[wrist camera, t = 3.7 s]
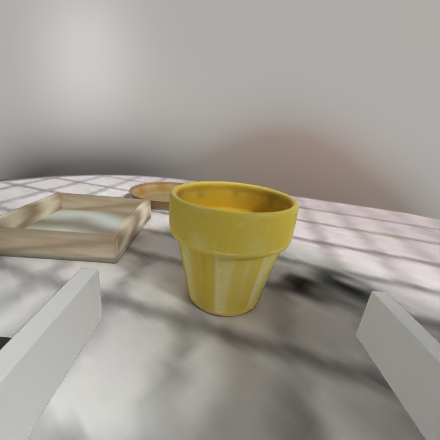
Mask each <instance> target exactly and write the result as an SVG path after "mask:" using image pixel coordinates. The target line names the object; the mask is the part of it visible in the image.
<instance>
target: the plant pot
mask: <svg viewBox="0 0 440 440" xmlns="http://www.w3.org/2000/svg"><path fill="white" fill-rule="evenodd" d="M297 214H298V203H297V201H296V200H295V199H294V198H292V197H291V196H289V195H287V194H284V193H282V192H279V191H276V190H273V189H269V188H265V187H260V186H255V185H250V184H243V183H234V182H219V181H203V182H192V183H186V184H181V185H178V186H176V187H174V188H173V189H172V190H171V191H170V198H169V221H170V231H171V234H172V235H173V237H174V238H175V239H176V240H177V241H178V242H179V247H180V252H181V257H182V262H183V266H184V272H185V277H186V282H187V287H188V292H189V295H190V298H191V300H192V301H193V302H194V303H195V304H196V305H197V306H198V307H199V308H201V309H202V310H204V311H206V312H208V313H211V314H215V315H219V316H237V315H241V314H244V313H246V312H248V311H250V310H252V309H253V308H254V307H255V305H256V304H257V302H258V300H259V297H260V295H261V293H262V290H263V288H264V286H265V284H266V281H267V279H268V277H269V275H270V272H271V270H272V268H273V266H274V263H275V261H276V259H277V257H278V254H279V252H281V251H283V250H285V249H286V248H287V247H288V246H289V244H290V242H291V239H292V236H293V232H294V228H295V224H296V219H297Z"/></svg>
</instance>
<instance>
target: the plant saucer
mask: <svg viewBox="0 0 440 440" xmlns="http://www.w3.org/2000/svg"><path fill="white" fill-rule="evenodd" d="M181 184H184V183H175V182H151V183H144V184H139V185H135V186H133V187H131V188H130V190H129V192H130V193H131V195H132V196H133V197H134V198H135V199H148V200H151V208H152V209H157V210H169V198H170V191H171V190H172V189H173V188H174V187H176V186H178V185H181Z"/></svg>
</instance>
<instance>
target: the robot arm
mask: <svg viewBox="0 0 440 440" xmlns="http://www.w3.org/2000/svg"><path fill="white" fill-rule="evenodd" d="M101 318H102V307H101V295H100V284H99V273H98V269H87V268H81V269H80V270H79V271H78V272H77V273H76V274H75V275H74V276H73V277H72V278H71V279H70V280H69V281H68V282H67V283H66V284H65V285H64V286H63V287H62V288H61V289H60V290H59V291H58V292H57V293H56V294H55V295H54V296H53V297H52V298H51V299H50V300H49V301H48V302H47V303H46V304H45V305H44V306H43V307H42V308H41V309H40V310H39V311H38V312H37V313H36V314H35V315H34V316H33V317H32V319H31V320H30V321H29V322H28V323H27V324H26V325H25V326H24V327H23V328H22V329H21V330H20V331H19V332H18V333H17V334H16V335H15V336H14V337H13V338H8V337H0V440H26V439H27V437H28V435H29V434H30V432H31V431H32V429H33V427H34V426H35V424H36V423H37V421H38V419H39V418H40V416H41V414H42V413H43V411H44V410H45V408H46V406H47V405H48V403H49V402H50V400H51V398H52V397H53V395H54V394H55V392H56V390H57V389H58V387H59V386H60V384H61V382H62V381H63V379H64V377H65V376H66V374H67V373H68V371H69V369H70V368H71V366H72V365H73V363H74V361H75V360H76V358H77V357H78V355H79V353H80V352H81V350H82V349H83V347H84V345H85V344H86V342H87V340H88V339H89V337H90V336H91V334H92V332H93V331H94V329H95V328H96V326H97V324H98V323H99V321H100V320H101ZM356 336H357V338H358V339H359V341H360V342H361V344H362V345H363V347H364V348H365V350H366V351H367V353H368V354H369V356H370V357H371V359H372V360H373V362H374V363H375V365H376V366H377V368H378V369H379V371H380V372H381V374H382V375H383V377H384V378H385V380H386V381H387V383H388V384H389V386H390V387H391V389H392V390H393V392H394V393H395V394H396V396H397V397H398V399H399V400H400V402H401V403H402V405H403V406H404V408H405V409H406V411H407V412H408V414H409V415H410V417H411V418H412V420H413V421H414V423H415V424H416V426H417V427H418V429H419V430H420V432H421V433H422V435H423V436H424V438H425V439H426V440H440V343H439V342H438V341H437V340H436V339H435V338H434V337H433V336H432V335H431V334H430V333H429V332H428V331H427V330H426V329H425V328H424V327H423V326H422V325H421V324H420V323H419V322H417V321H416V320H415V319H414V318H413V317H412V316H411V315H410V314H409V313H408V312H407V311H406V310H405V309H404V308H403V307H402V306H401V305H400V304H399V303H398V302H397V301H396V300H395V299H394V298H393V297H392V296H391V295H390V294H388V293H387V292H378V291H372V292H371V295H370V297H369V300H368V303H367V305H366V308H365V311H364V313H363V316H362V319H361V321H360V324H359V327H358V329H357V332H356Z"/></svg>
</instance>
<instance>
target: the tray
mask: <svg viewBox="0 0 440 440" xmlns="http://www.w3.org/2000/svg"><path fill="white" fill-rule="evenodd" d="M150 218H151V200H148V199H135V198H122V197H109V196H96V195H83V194H70V193H55V194H53V195H50V196H48V197H45V198H43V199H40V200H38V201H35V202H33V203H30V204H28V205H25V206H23V207H20V208H18V209H15V210H13V211H10V212H8V213H5V214H3V215H1V216H0V255H2V256H17V257H31V258H46V259H61V260H75V261H90V262H105V263H116V262H117V261H118V260H119V258H120V257H121V256H122V254H123V253H124V252H125V251H126V249H127V248H128V247H129V245H130V244H131V243H132V241H133V240H134V239H135V237H136V236H137V235H138V233H139V232H140V231H141V230H142V228H143V227H144V226H145V224H146V223H147V222H148V220H149V219H150Z"/></svg>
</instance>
